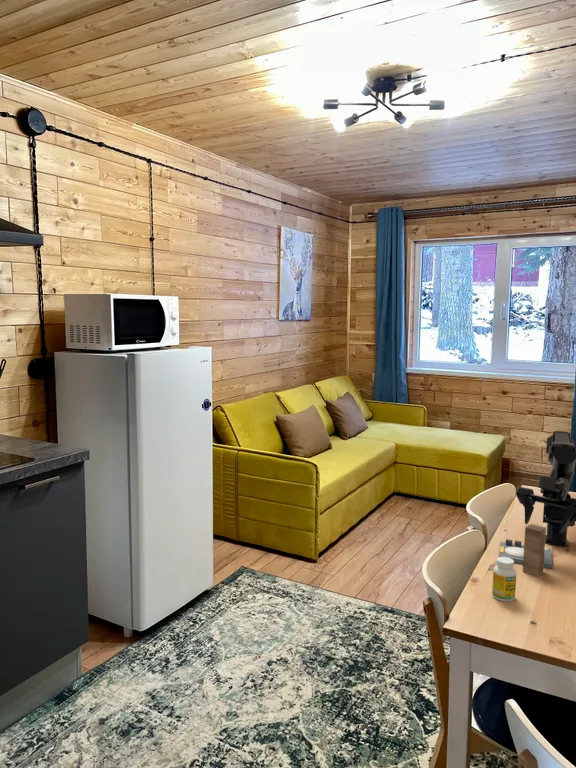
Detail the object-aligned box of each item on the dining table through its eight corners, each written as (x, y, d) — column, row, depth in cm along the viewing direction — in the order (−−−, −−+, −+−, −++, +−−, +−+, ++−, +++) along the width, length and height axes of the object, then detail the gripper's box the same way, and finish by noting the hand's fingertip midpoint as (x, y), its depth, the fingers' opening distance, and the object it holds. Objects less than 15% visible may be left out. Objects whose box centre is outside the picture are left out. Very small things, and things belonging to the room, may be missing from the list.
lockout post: (528, 566, 160) (531, 523, 159) (543, 571, 157) (546, 527, 156) (522, 571, 157) (525, 527, 156) (537, 576, 155) (540, 531, 153)
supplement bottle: (501, 590, 146) (503, 553, 145) (519, 598, 142) (521, 561, 141) (487, 595, 143) (489, 558, 142) (505, 604, 139) (508, 566, 138)
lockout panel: (500, 545, 175) (500, 536, 175) (550, 552, 170) (551, 543, 170) (498, 560, 164) (499, 551, 164) (552, 568, 159) (552, 559, 159)
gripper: (520, 459, 168) (502, 504, 161) (589, 471, 155) (572, 521, 148) (529, 480, 174) (512, 525, 168) (596, 494, 162) (580, 542, 155)
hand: (542, 527), depth 159 cm, fingers open, 9 cm apart
